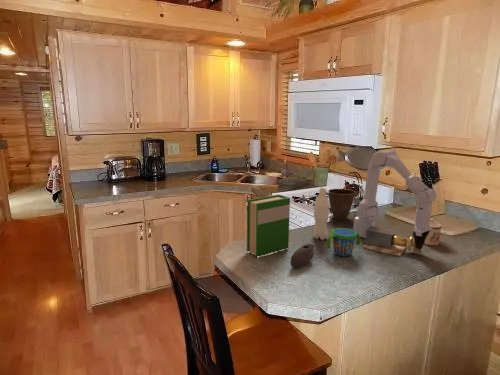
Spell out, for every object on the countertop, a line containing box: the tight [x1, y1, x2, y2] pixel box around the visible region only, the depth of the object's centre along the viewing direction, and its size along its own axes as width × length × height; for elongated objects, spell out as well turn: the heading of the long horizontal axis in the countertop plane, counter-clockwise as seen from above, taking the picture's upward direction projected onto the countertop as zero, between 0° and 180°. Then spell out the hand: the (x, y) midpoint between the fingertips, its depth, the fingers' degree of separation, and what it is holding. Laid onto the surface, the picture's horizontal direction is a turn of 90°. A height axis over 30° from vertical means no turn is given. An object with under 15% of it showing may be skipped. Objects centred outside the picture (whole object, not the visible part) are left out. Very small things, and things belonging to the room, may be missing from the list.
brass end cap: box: [391, 235, 424, 254], centre depth 153 cm, size 15×6×8 cm, turn 55°
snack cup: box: [326, 227, 361, 257], centre depth 150 cm, size 16×10×10 cm
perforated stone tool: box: [290, 243, 315, 269], centre depth 140 cm, size 15×5×7 cm, turn 138°
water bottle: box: [312, 187, 330, 241], centre depth 167 cm, size 7×7×25 cm
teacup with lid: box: [424, 218, 443, 246], centre depth 164 cm, size 12×9×12 cm
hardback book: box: [246, 194, 291, 257], centre depth 150 cm, size 18×7×24 cm, turn 126°
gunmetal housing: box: [364, 225, 396, 250], centre depth 159 cm, size 11×7×7 cm, turn 55°
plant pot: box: [327, 188, 356, 221], centre depth 199 cm, size 15×15×16 cm
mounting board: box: [362, 244, 406, 257], centre depth 159 cm, size 16×14×1 cm
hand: (419, 247), depth 150 cm, fingers closed on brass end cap, 4 cm apart
